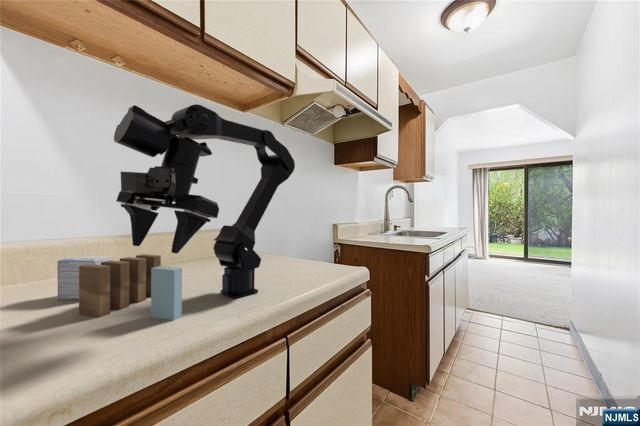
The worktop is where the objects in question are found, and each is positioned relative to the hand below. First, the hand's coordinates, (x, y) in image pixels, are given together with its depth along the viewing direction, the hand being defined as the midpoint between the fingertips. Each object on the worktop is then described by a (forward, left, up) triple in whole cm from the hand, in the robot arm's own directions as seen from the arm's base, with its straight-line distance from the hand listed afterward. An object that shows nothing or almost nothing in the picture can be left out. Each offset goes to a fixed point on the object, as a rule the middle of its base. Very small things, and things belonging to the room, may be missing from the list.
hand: (154, 249), depth 46 cm
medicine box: (+7, -24, -13) cm, 28 cm away
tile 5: (+7, -11, -13) cm, 18 cm away
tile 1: (-2, 0, -13) cm, 13 cm away
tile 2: (-3, -16, -13) cm, 21 cm away
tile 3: (0, -14, -13) cm, 19 cm away
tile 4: (+3, -12, -13) cm, 18 cm away
